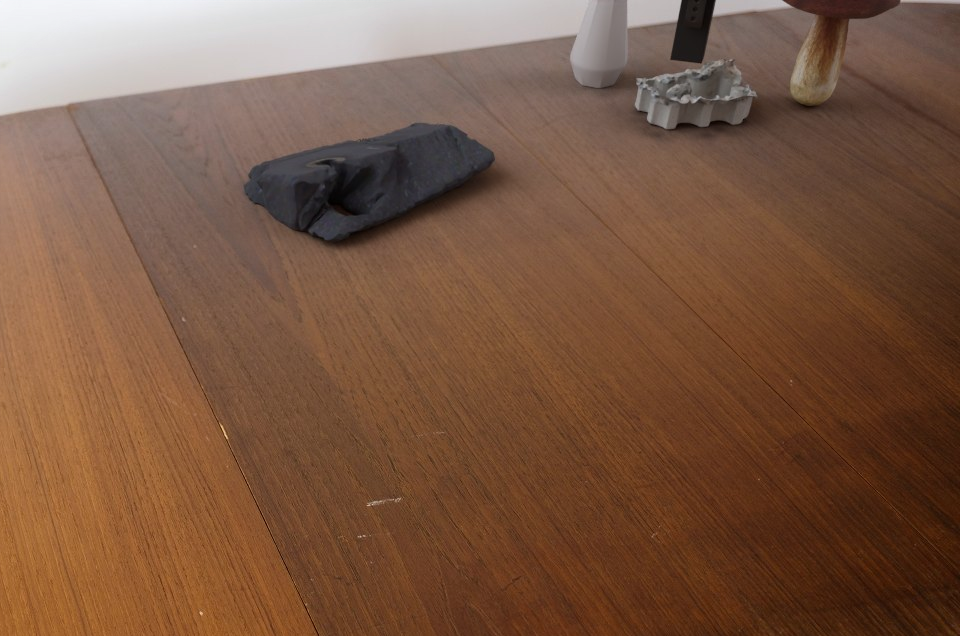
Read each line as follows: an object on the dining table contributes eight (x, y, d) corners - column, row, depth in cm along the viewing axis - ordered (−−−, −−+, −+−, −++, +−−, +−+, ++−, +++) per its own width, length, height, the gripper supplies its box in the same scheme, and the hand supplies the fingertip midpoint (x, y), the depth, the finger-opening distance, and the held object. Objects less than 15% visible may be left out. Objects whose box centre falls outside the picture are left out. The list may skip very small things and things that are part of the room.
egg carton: (729, 95, 128) (738, 56, 125) (756, 127, 122) (767, 87, 119) (626, 100, 127) (634, 61, 125) (649, 131, 122) (658, 91, 119)
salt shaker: (580, 94, 129) (601, -35, 120) (558, 72, 133) (577, -54, 125) (632, 88, 130) (657, -41, 121) (609, 66, 134) (631, -59, 125)
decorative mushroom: (804, 135, 121) (850, -23, 111) (727, 93, 128) (764, -58, 118) (889, 112, 124) (941, -43, 114) (809, 73, 131) (851, -76, 122)
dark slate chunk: (518, 187, 114) (525, 139, 111) (319, 255, 106) (320, 205, 102) (417, 127, 124) (421, 80, 121) (227, 184, 116) (226, 136, 112)
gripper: (709, -261, 101) (656, 28, 116) (683, -227, 92) (630, 80, 108) (806, -257, 99) (740, 37, 114) (789, -222, 90) (720, 92, 105)
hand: (687, 58), depth 111 cm, fingers closed
